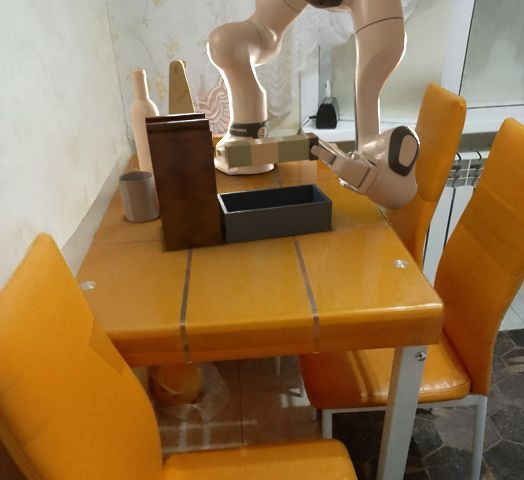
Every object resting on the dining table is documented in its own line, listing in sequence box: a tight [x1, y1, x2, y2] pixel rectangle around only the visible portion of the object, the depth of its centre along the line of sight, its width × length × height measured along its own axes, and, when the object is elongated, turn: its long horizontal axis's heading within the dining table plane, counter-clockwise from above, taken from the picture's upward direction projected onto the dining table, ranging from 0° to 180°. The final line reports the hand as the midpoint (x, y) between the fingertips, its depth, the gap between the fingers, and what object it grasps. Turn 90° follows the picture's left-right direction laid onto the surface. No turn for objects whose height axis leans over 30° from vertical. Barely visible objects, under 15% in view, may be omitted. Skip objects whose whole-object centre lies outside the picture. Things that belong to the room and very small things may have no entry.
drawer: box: [224, 131, 320, 168], centre depth 107 cm, size 20×5×5 cm, turn 102°
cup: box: [117, 170, 160, 223], centre depth 123 cm, size 8×8×10 cm
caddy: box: [168, 59, 196, 115], centre depth 163 cm, size 29×11×30 cm, turn 178°
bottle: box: [129, 68, 160, 190], centre depth 137 cm, size 8×8×30 cm
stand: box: [145, 112, 223, 252], centre depth 107 cm, size 12×14×25 cm
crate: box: [217, 182, 333, 244], centre depth 115 cm, size 25×14×7 cm, turn 102°
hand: (307, 144), depth 108 cm, fingers closed on drawer, 5 cm apart
